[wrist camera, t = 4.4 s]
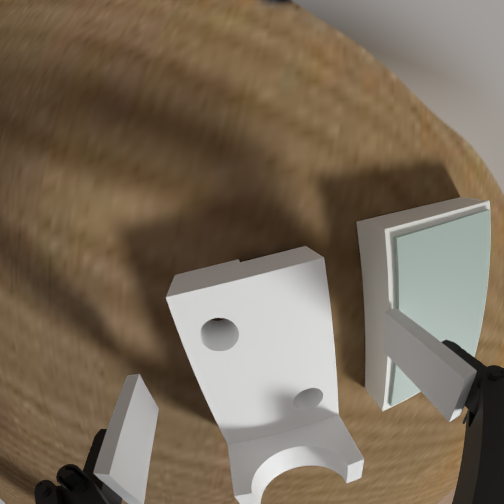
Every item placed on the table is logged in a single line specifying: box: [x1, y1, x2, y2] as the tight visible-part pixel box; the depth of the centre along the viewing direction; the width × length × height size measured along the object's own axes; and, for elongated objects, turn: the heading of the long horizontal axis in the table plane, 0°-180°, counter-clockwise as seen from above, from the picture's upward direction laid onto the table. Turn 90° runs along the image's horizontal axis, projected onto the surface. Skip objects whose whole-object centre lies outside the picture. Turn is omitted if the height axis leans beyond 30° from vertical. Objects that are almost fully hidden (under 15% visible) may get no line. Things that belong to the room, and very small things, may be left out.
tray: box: [356, 197, 491, 411], centre depth 16 cm, size 10×13×3 cm
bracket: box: [166, 246, 364, 504], centre depth 13 cm, size 13×7×8 cm, turn 11°
